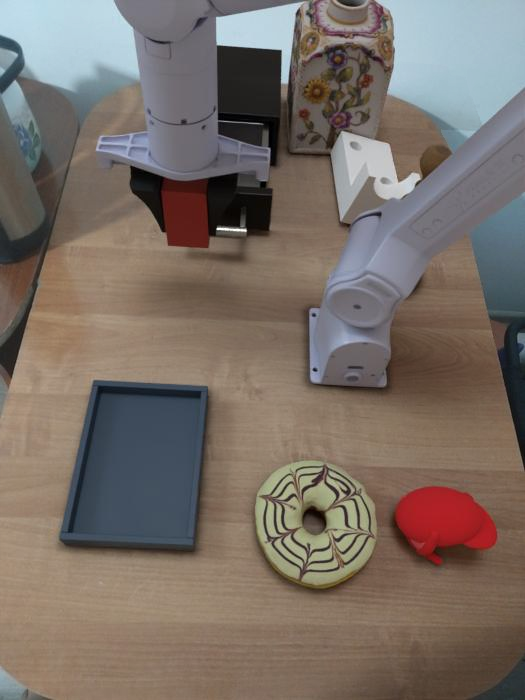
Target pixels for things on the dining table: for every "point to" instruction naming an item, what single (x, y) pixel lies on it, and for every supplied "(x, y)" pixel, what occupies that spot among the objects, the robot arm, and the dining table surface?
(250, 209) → the drawer
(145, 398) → the tray
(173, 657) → the dining table surface
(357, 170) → the bracket
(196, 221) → the red block
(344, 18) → the decorative jar
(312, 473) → the decorated donut
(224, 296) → the dining table surface
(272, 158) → the black drawer cabinet
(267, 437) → the dining table surface
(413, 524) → the cap
